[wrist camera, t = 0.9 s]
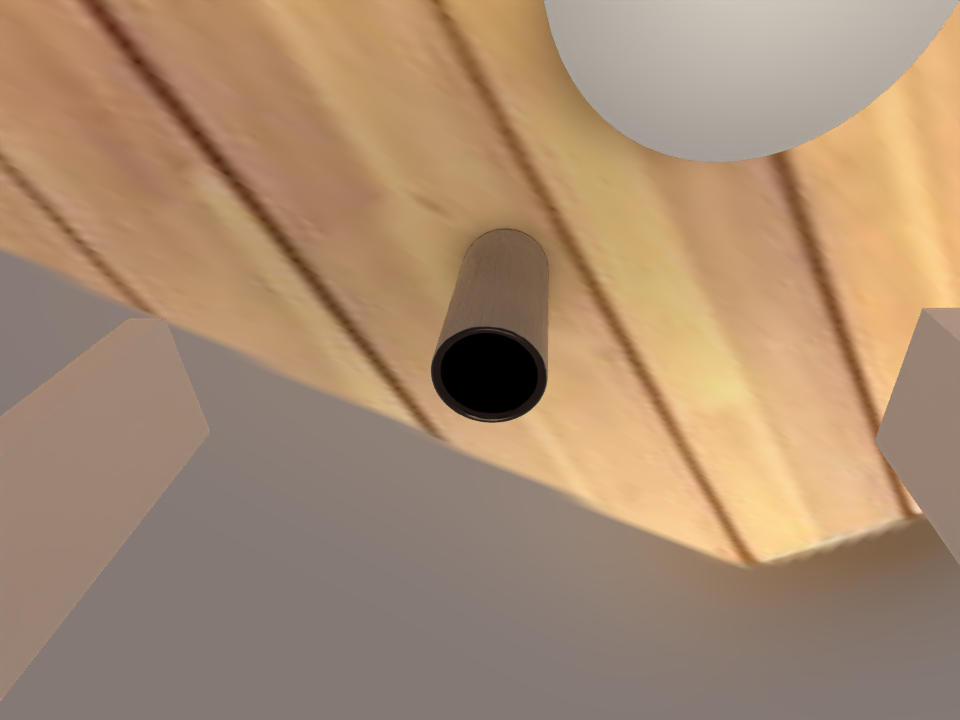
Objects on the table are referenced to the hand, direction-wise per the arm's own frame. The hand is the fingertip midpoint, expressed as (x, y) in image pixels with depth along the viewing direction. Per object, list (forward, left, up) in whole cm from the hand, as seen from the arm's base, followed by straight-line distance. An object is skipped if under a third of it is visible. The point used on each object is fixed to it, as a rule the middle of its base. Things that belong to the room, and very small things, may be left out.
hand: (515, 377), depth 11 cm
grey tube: (0, -7, -20) cm, 21 cm away
